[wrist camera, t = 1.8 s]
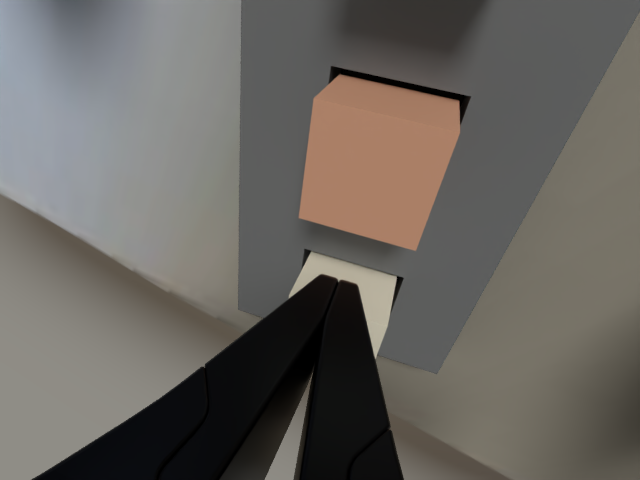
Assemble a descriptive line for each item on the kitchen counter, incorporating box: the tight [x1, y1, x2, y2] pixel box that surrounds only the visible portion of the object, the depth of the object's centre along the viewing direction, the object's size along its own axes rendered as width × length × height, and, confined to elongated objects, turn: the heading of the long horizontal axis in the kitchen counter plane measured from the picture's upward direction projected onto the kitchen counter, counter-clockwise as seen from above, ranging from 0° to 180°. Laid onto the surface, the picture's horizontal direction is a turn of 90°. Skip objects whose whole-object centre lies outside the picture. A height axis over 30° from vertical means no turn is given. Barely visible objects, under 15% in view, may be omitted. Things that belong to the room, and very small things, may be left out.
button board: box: [238, 0, 640, 374], centre depth 16 cm, size 12×24×2 cm, turn 171°
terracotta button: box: [299, 74, 460, 251], centre depth 14 cm, size 4×4×3 cm
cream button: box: [289, 251, 397, 359], centre depth 19 cm, size 4×4×3 cm
